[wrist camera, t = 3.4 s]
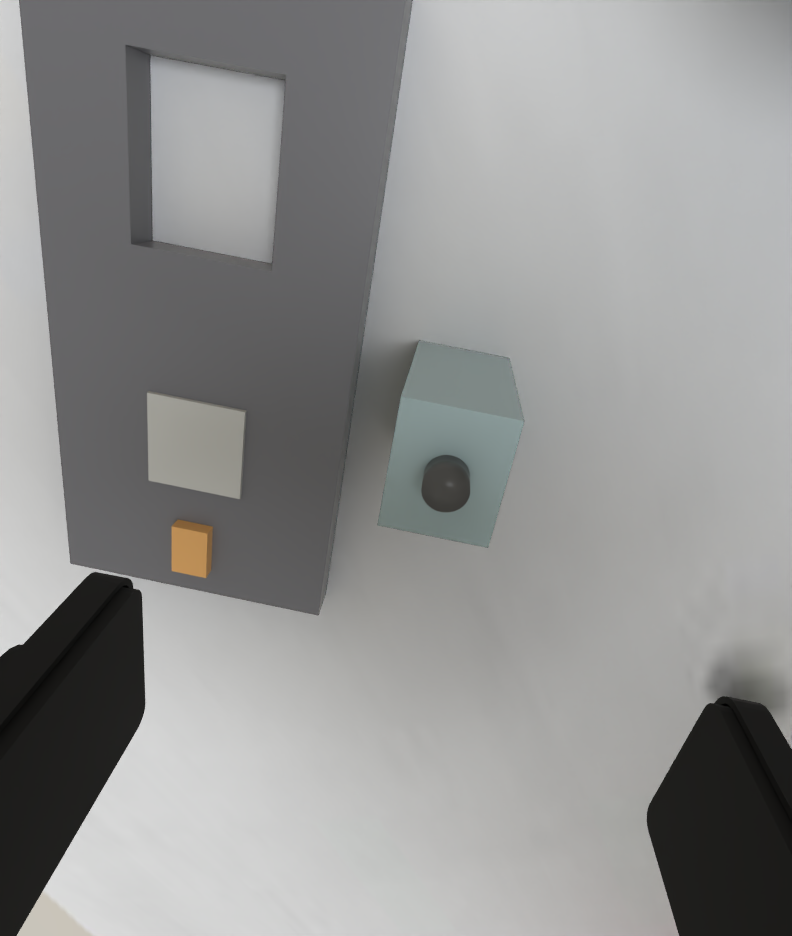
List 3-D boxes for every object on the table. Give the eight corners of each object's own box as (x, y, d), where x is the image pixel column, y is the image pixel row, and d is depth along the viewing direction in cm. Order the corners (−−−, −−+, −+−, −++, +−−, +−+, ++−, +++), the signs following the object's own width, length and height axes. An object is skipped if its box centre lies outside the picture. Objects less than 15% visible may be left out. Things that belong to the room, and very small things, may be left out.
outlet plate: (325, 594, 29) (315, 623, 27) (89, 545, 29) (62, 570, 27) (413, -10, 19) (407, -33, 17) (45, -77, 19) (-5, -108, 17)
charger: (483, 457, 25) (488, 565, 18) (399, 441, 25) (373, 541, 18) (509, 358, 23) (527, 434, 16) (419, 340, 23) (397, 408, 16)
